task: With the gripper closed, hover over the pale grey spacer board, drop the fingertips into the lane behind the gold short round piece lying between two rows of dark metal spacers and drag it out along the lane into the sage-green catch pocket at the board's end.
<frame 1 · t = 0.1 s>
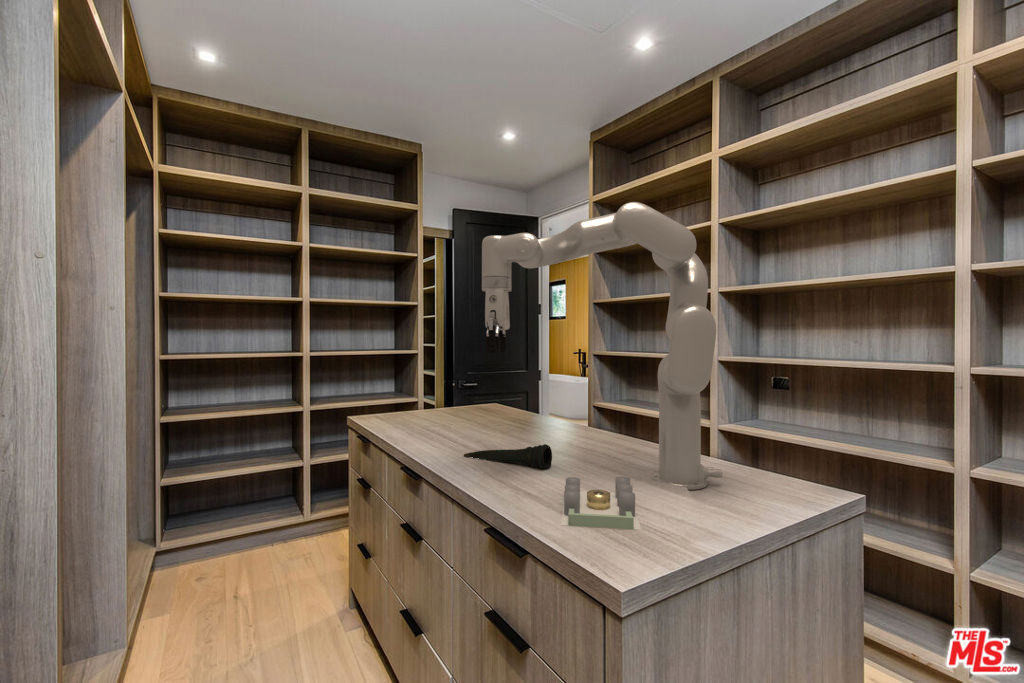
hand: (496, 352, 122), 31 cm above the table, fingers open, 9 cm apart
tool: (503, 464, 134), on the table
gold short round piece: (598, 506, 96), point 1 cm above the table, touching spacer board
spacer board: (598, 513, 95), on the table
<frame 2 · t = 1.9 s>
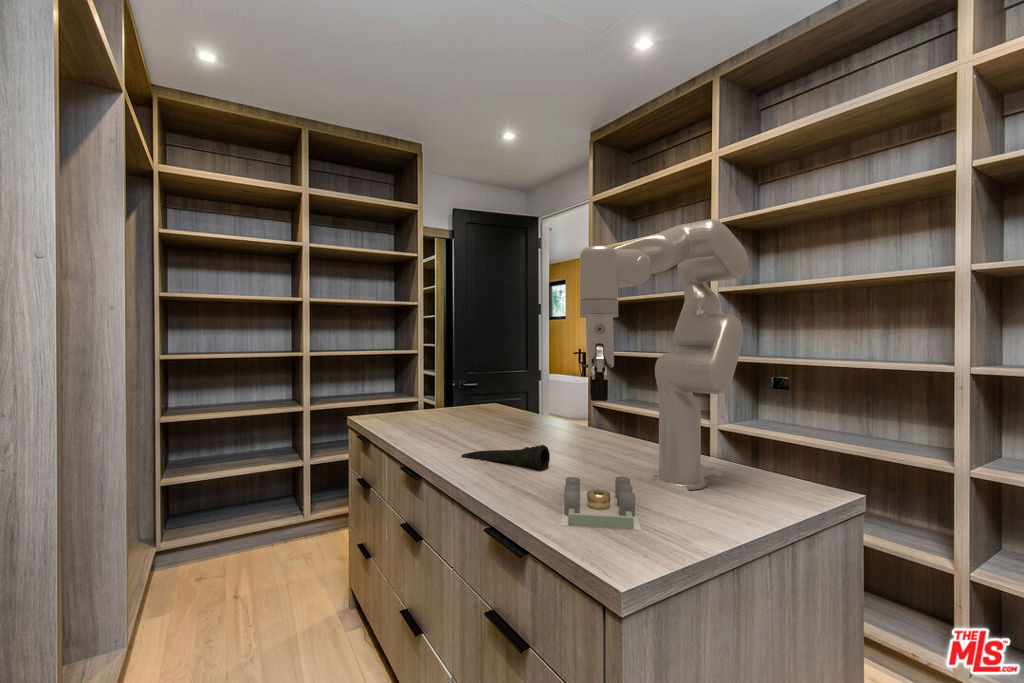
hand: (598, 397, 95), 23 cm above the table, fingers open, 8 cm apart
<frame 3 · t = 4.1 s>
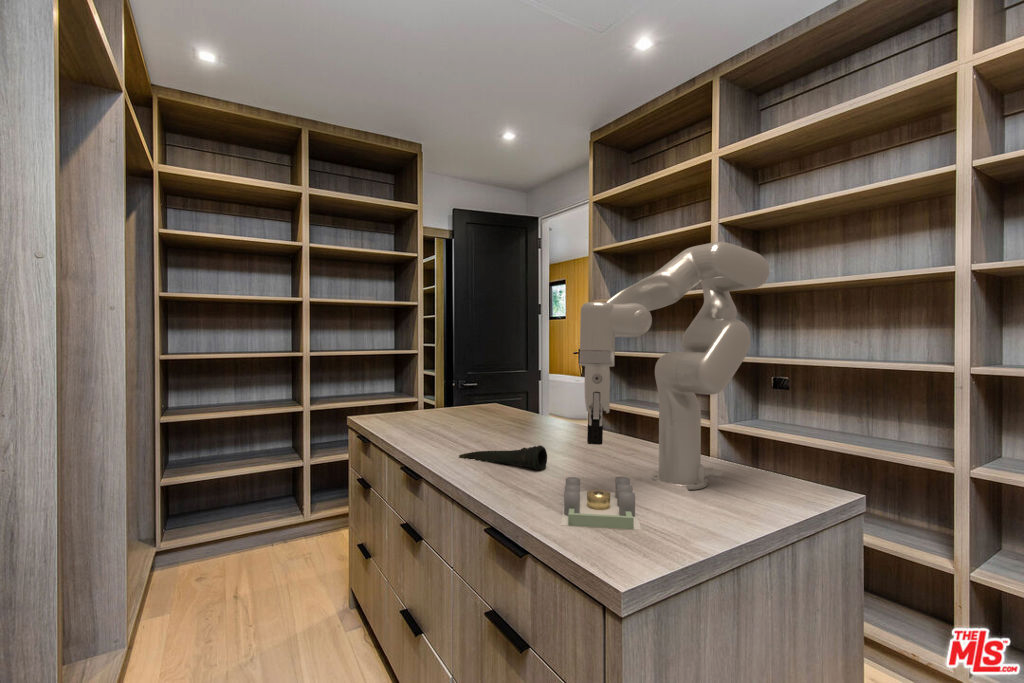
hand: (594, 443, 104), 12 cm above the table, fingers closed
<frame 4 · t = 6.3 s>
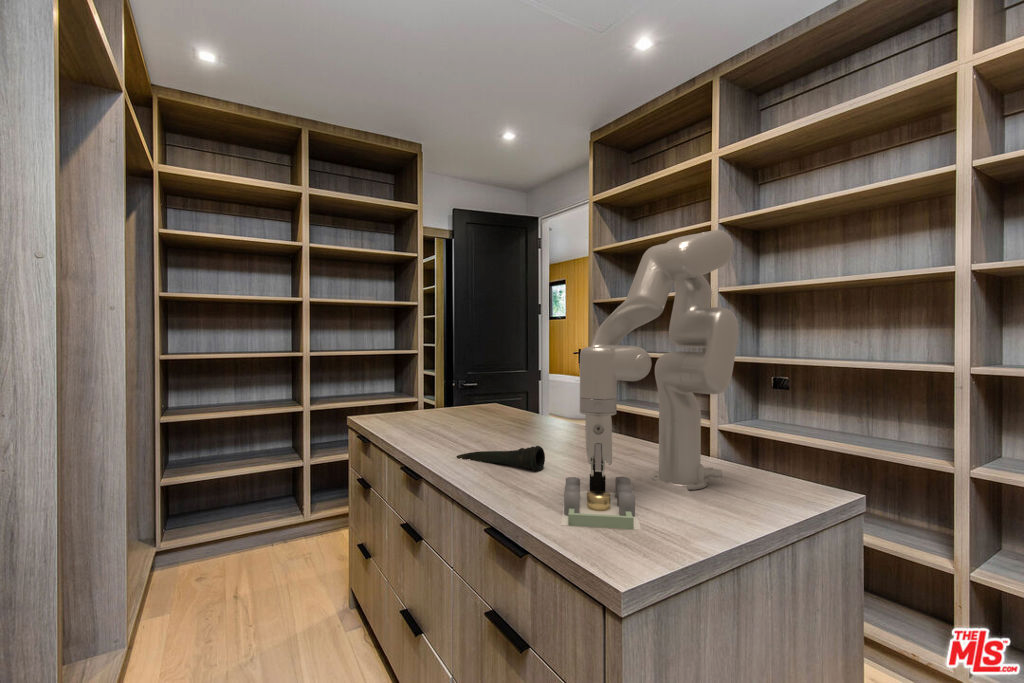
hand: (597, 494, 99), 2 cm above the table, fingers closed
gold short round piece: (598, 507, 95), point 1 cm above the table, touching gripper
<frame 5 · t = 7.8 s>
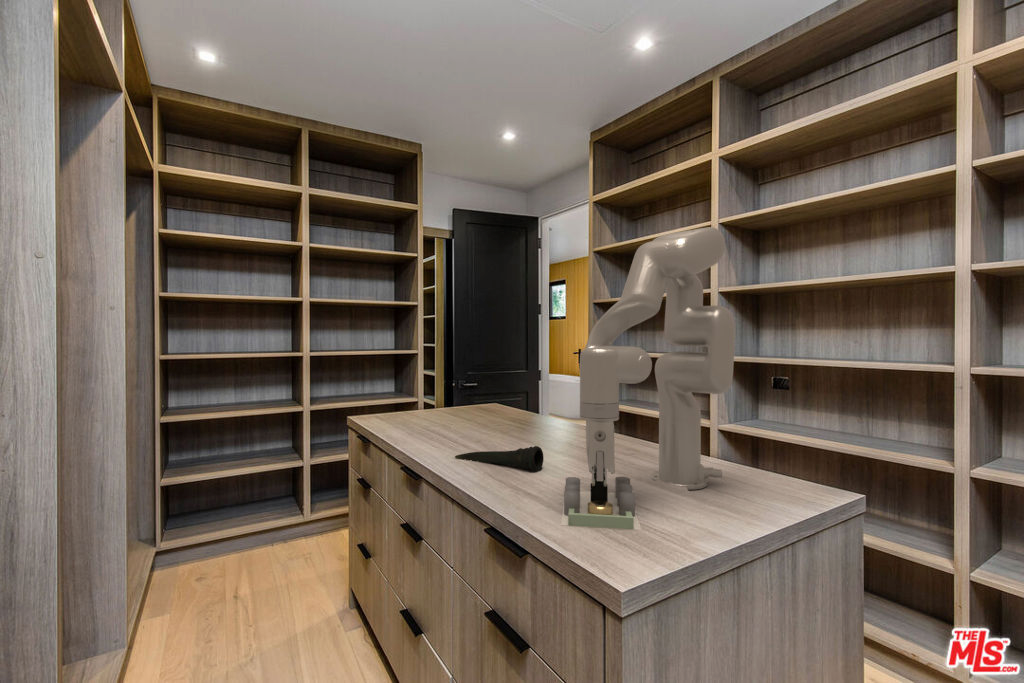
hand: (598, 505, 93), 2 cm above the table, fingers closed
gold short round piece: (600, 518, 89), point 1 cm above the table, touching spacer board
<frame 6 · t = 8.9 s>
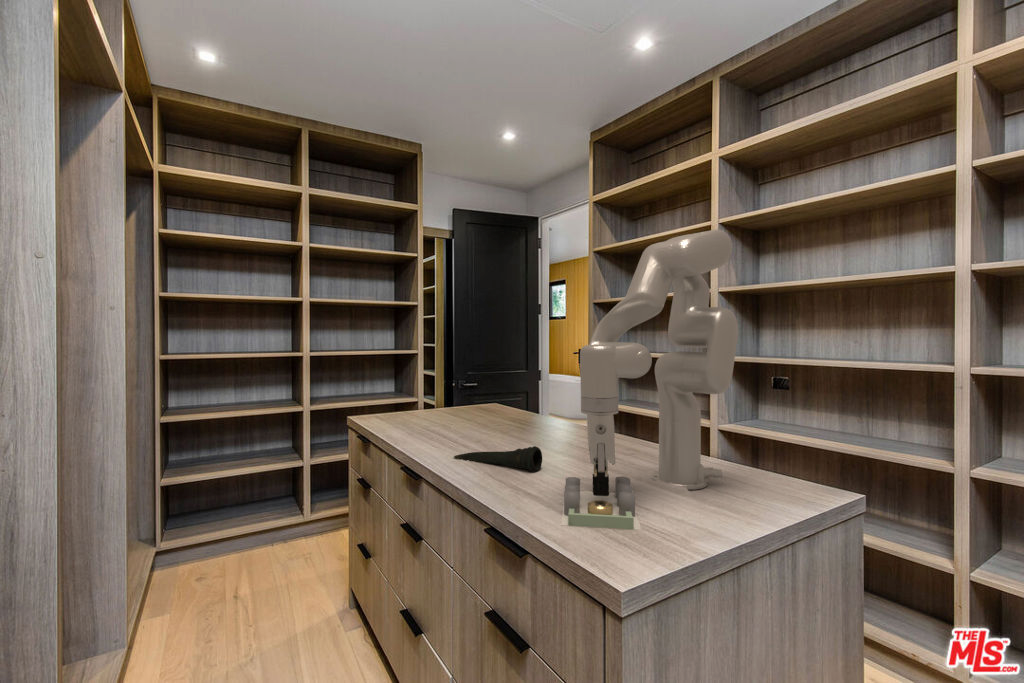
hand: (600, 494, 98), 3 cm above the table, fingers closed
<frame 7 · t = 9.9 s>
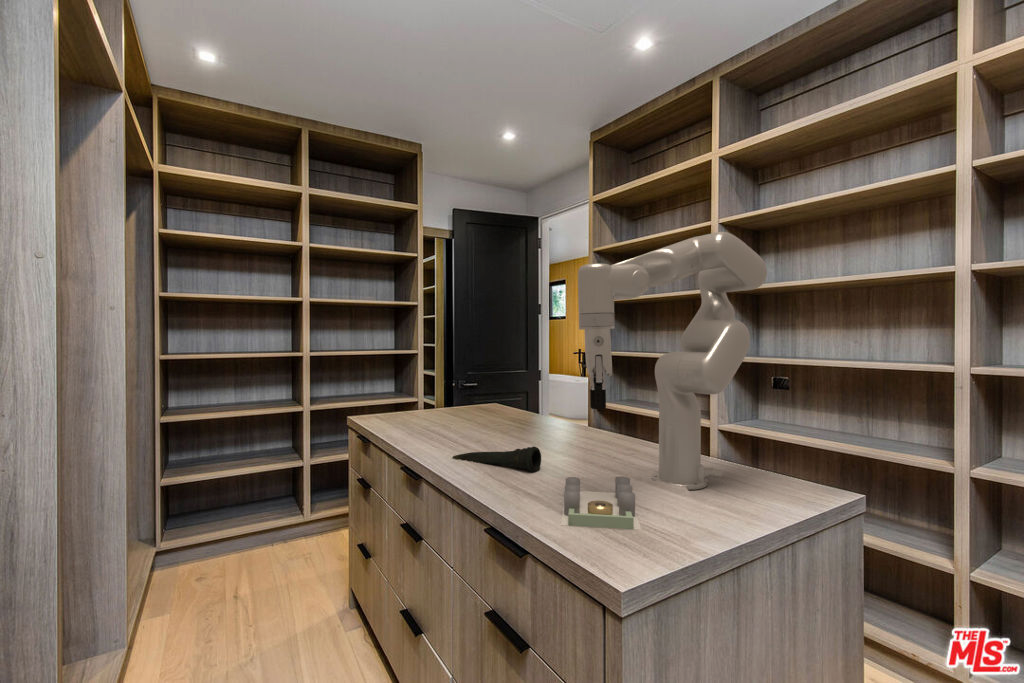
hand: (598, 408, 102), 20 cm above the table, fingers closed
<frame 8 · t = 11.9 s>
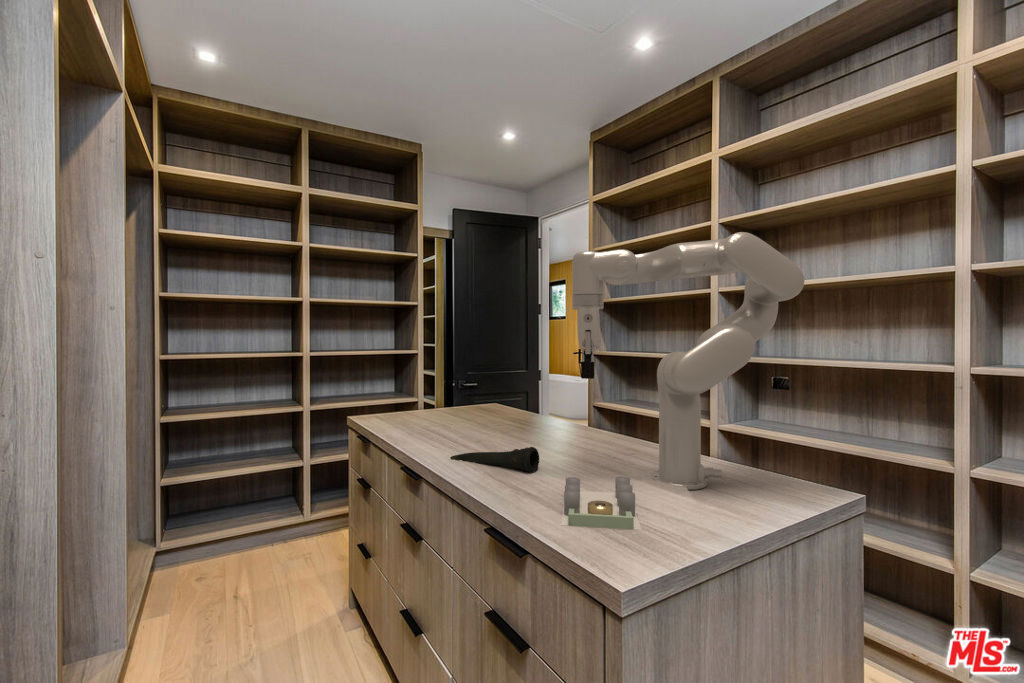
hand: (587, 378, 117), 25 cm above the table, fingers closed
at the end: gold short round piece inside the target area on the spacer board (1.1 cm from its centre), point 1.2 cm above the spacer board's base; gold short round piece moved 6.7 cm from its start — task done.
